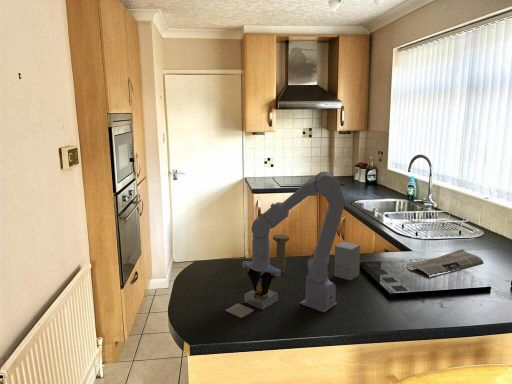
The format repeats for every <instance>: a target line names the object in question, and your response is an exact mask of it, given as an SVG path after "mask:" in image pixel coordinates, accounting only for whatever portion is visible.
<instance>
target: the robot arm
mask: <svg viewBox="0 0 512 384" xmlns="http://www.w3.org/2000/svg"><path fill="white" fill-rule="evenodd" d="M318 193H319V194H320V195H321V196H323V197H324V198H325V200H326V201H327V203H328V206H327V208H326V212H325V216H324V219H323V222H322V226H321V229H320V232H319V235H318V239H317V242H316V246H315V248H314V249H313V252H312V255H310V257H309V258H308V260H307V261H306V265H307V270H308V271H307V275H306V276H305V299H304V300H301V302H299V304H301V305H302V306H305V307H308V308H311V309H312V310H315V311H316V310H317V311H319V312H321V313H326V312H328V311H329V310H330V309H332V308H333V307H335V306H336V305H337V304H338V303H337V302H336V296H337V295H336V294H337V286H336V284H335V283H334V282H332V281H331V280H330V279H329V270H328V267H329V262H330V255H331V254H330V253H331V250H332V248H333V244H334V241H335V237H336V234H337V231H338V228H339V225H340V220H341V218H342V215H343V212H344V208H345V205H346V201H345V198H344V195H343V192H342V189H341V185H340V184H339V182H338V181H337V179H336V178H335V177H334V176H333V174H331V173H330V171H329V172H328V171H321V172H319V173H317V174H316V176H313V177H311V178H310V179H308V180H307V181H306V182H304V184H302V185H301V186H300V187H299V188H298V189H297V190H296V191H295V192H293V193H292V194H291V195H290V196H288V197H287V199H285V200H284V201H283V202H275V203H274V202H273V203H271V204H270V207H269V208H268V209H267V210H266V211H264V213H262V212H261V213H260V214H259V216H258V217H256V218H255V219H254V220H253V222H252V224H251V232H252V247H251V248H252V249H251V250H252V255H251V256H252V257H251V258H252V261H249V260H248V261H247V260H243V261H242V262H241V268H243V269H246V268H247V269H249V271H247V275H248V277H249V278H250V281H251V284H252V287H253V288H252V289H253V290H254V291H255V292H256V284H257V280H258V279H261V280H262V285H263V294H266V293H268V290H270V286H271V283H272V280H273V278H274V276H275V277H277V278H279V277H281V276H282V273H281V270H280V269H277V267H275V266H273V265H271V262H270V257H271V256H270V254H271V253H270V244H271V243H270V232H271V231H270V230H271V229H274V228H276V227H277V226H278V225H280V224H281V222H283V221H284V220H285V219H286V218H288V217H289V215H290V214H289V213H290V210H292V209H293V208H294V207H296V206H297V205H299V203H301V202H302V201H304V200H305V199H307V197H311V196H312V197H316V196H318ZM261 273H263V274H261Z"/></svg>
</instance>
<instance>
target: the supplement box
mask: <svg viewBox="0 0 512 384" xmlns="http://www.w3.org/2000/svg"><path fill="white" fill-rule="evenodd" d="M360 257H361V245H360V244H357V243H352V242H347V241H342V242H341V243H338V244H336V245H335V246H334V277H337V278H340V279H342V280H347V281H352V280H354V279H356V278H357V277H359V276H360V261H361V259H360Z"/></svg>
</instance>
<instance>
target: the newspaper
mask: <svg viewBox="0 0 512 384" xmlns="http://www.w3.org/2000/svg"><path fill="white" fill-rule="evenodd" d="M482 264H484V260H483V258H481V257H480V256H478V255H475V254H473V253H470V252H467V251H465V249H463V248H461V249H459V250H455V251H452V252H450V253H447V254H444V255H439V256H438V257H434V258H429V259H424V260H420V261H416V262H411V263H407V264H406V266H407V267H413V268H416V269H418V270H420V271H421V272H423V273H425V274H426V275H427V276H428V275H432V274H437V273H443V272H448V271H453V270H457V269H461V270H464V269H468V268H471V267H475V266H479V265H482ZM457 271H458V270H457Z"/></svg>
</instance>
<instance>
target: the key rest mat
mask: <svg viewBox="0 0 512 384" xmlns="http://www.w3.org/2000/svg"><path fill="white" fill-rule="evenodd" d="M254 311H255V310H254V309H253V308H250V307H248V306H246V305H243V304H241V303H238V302H237V303H236V304H234V305H232V306H231V307H229V308H226V309H225V312H227V313H229V314H232V315H233V316H235V317H238V318H240V319H242V318H244V317H246V316H247V315H249V314H252V313H253V312H254Z"/></svg>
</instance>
